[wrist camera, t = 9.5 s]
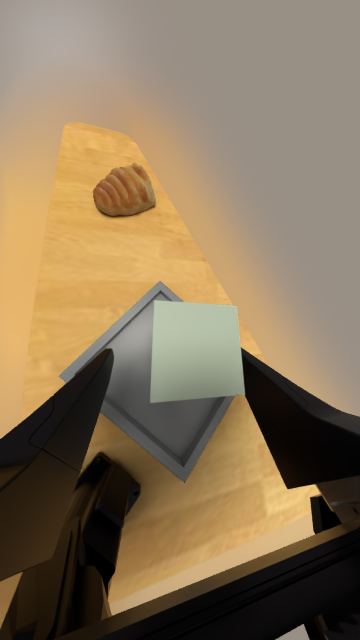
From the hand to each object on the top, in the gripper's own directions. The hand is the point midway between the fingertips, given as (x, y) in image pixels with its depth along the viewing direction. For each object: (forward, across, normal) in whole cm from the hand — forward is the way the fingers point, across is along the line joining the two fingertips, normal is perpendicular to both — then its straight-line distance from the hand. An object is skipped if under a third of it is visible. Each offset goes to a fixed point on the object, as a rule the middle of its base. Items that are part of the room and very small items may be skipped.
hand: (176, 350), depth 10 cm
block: (+6, 0, +6) cm, 8 cm away
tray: (+5, 0, +8) cm, 9 cm away
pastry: (+24, +6, -11) cm, 27 cm away
